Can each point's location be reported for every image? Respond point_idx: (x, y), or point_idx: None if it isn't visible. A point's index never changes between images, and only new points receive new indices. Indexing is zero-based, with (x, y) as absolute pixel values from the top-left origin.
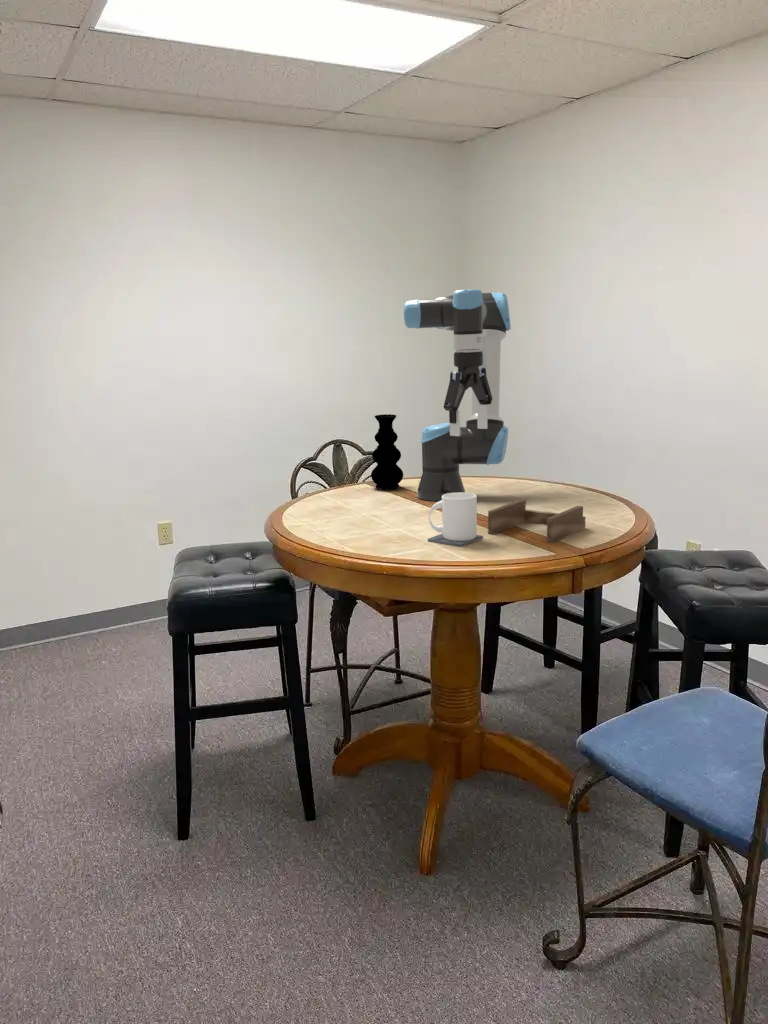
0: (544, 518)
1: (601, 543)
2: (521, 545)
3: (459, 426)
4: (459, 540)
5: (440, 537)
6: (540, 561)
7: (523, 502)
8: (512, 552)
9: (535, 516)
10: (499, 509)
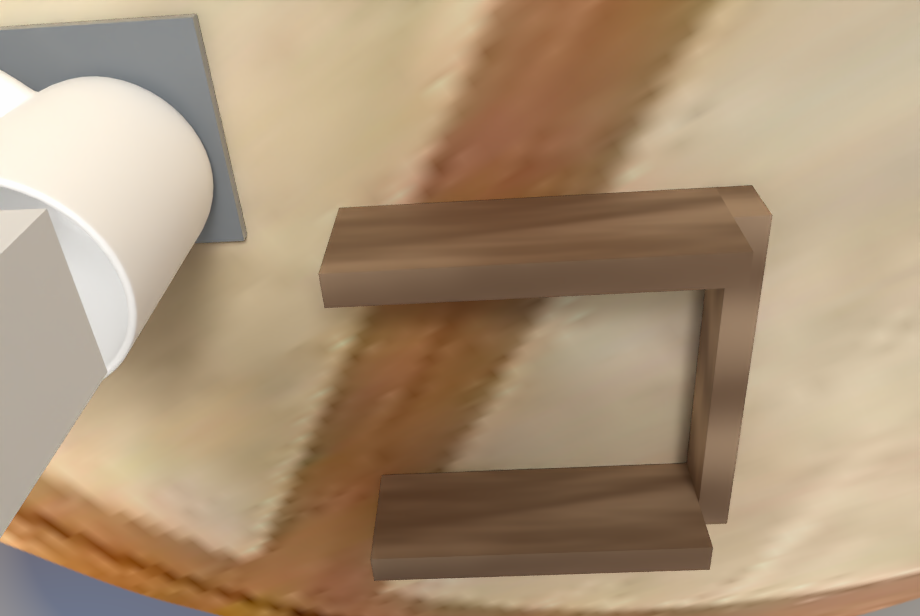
0: (708, 341)
1: (494, 604)
2: (266, 427)
3: (8, 493)
4: (56, 219)
5: (34, 77)
6: (134, 562)
7: (715, 282)
8: (150, 450)
9: (716, 295)
10: (397, 303)
